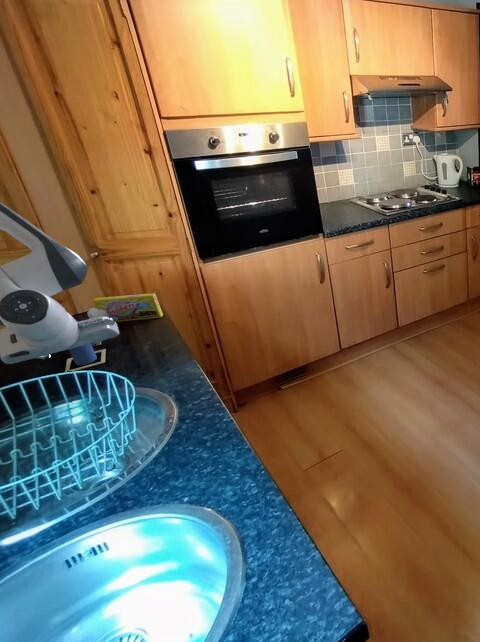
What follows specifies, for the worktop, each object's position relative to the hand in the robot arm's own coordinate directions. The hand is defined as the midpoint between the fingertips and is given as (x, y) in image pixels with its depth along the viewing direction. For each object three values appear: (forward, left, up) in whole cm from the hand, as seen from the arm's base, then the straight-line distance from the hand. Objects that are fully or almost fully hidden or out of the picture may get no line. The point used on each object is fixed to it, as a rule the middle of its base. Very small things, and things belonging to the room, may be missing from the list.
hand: (72, 348), depth 113 cm
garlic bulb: (+4, +32, -8) cm, 34 cm away
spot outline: (0, +9, -8) cm, 12 cm away
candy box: (+10, +29, -9) cm, 32 cm away
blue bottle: (0, +9, -8) cm, 12 cm away
